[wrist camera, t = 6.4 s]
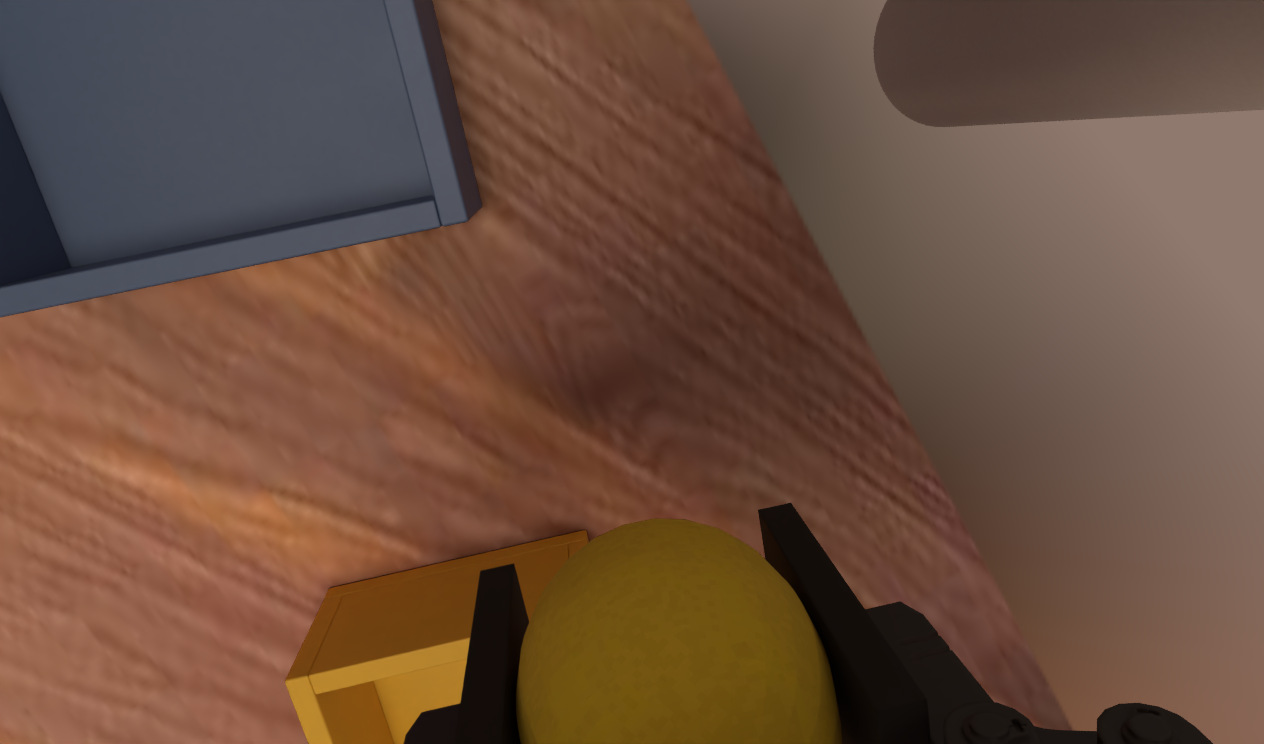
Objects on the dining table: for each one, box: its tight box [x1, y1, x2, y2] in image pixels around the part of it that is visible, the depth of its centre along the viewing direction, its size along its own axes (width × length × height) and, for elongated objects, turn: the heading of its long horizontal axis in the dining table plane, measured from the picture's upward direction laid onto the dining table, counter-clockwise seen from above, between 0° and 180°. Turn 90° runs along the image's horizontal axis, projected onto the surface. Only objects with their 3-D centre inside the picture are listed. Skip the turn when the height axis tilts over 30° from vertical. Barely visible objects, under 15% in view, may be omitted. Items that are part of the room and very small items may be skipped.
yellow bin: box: [285, 530, 589, 744], centre depth 31 cm, size 11×11×6 cm
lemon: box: [516, 519, 842, 744], centre depth 14 cm, size 6×6×8 cm
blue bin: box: [0, 0, 482, 317], centre depth 23 cm, size 15×15×6 cm
